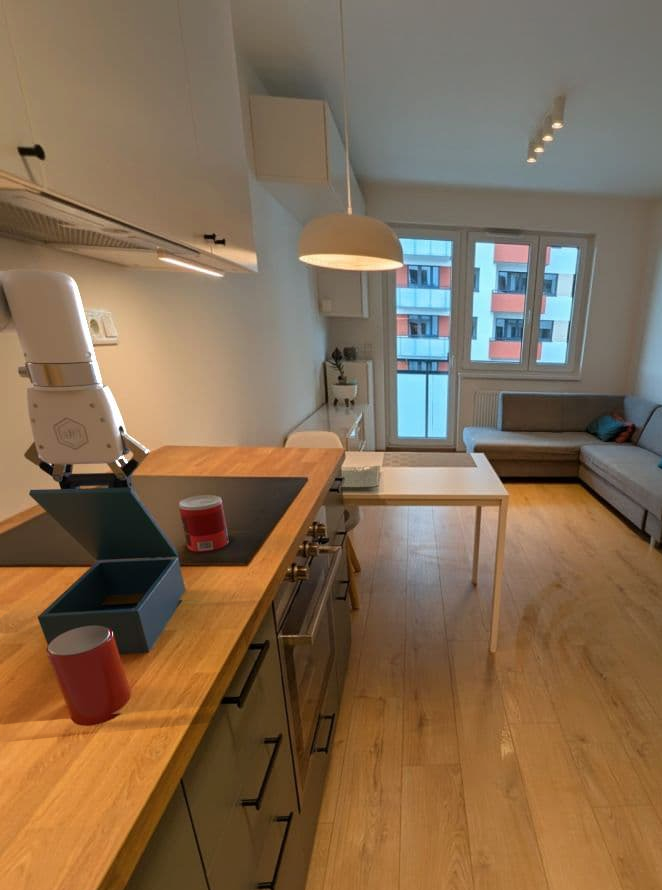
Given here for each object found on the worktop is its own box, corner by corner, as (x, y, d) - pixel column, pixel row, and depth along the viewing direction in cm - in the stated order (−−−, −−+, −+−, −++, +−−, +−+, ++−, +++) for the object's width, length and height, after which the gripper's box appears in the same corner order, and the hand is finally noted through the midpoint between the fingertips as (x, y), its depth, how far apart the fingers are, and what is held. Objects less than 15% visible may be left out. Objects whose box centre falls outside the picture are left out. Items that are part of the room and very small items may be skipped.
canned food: (237, 547, 109) (229, 499, 104) (204, 561, 103) (194, 510, 98) (214, 539, 112) (205, 492, 108) (181, 552, 106) (170, 502, 101)
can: (59, 728, 61) (32, 658, 57) (86, 691, 67) (63, 626, 63) (119, 722, 62) (97, 653, 58) (140, 687, 68) (121, 622, 64)
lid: (130, 491, 70) (136, 463, 72) (28, 494, 68) (38, 465, 70) (177, 556, 86) (181, 531, 88) (96, 560, 84) (102, 534, 86)
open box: (150, 656, 74) (137, 610, 71) (54, 663, 72) (37, 616, 69) (187, 596, 90) (178, 557, 86) (109, 601, 88) (97, 560, 84)
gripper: (-27, 379, 62) (21, 516, 70) (126, 379, 65) (156, 511, 73) (10, 372, 69) (50, 498, 77) (147, 373, 72) (173, 494, 79)
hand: (102, 503), depth 75 cm, fingers closed on lid, 6 cm apart
